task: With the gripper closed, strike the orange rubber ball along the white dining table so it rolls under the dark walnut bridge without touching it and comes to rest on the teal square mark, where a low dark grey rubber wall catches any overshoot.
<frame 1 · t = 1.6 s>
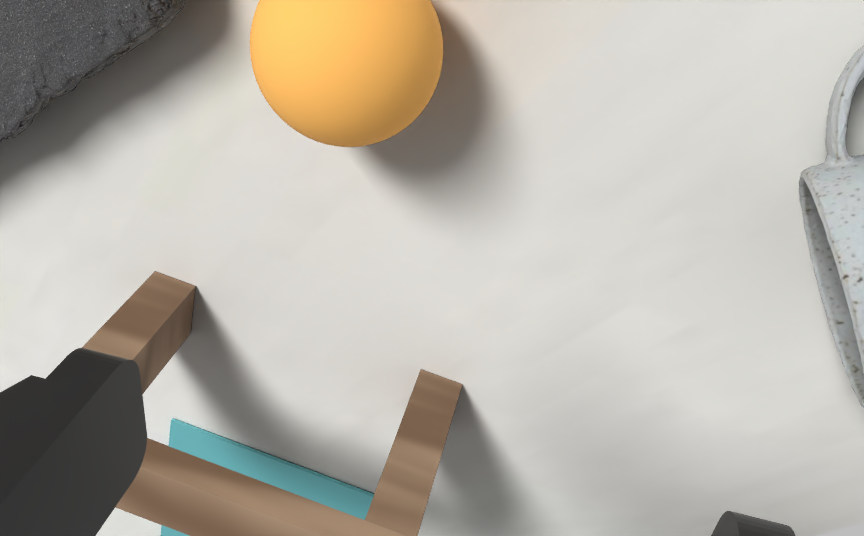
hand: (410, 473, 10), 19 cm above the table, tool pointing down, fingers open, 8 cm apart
ball: (347, 50, 24), on the table
bridge: (302, 350, 36), on the table
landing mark: (263, 523, 44), on the table
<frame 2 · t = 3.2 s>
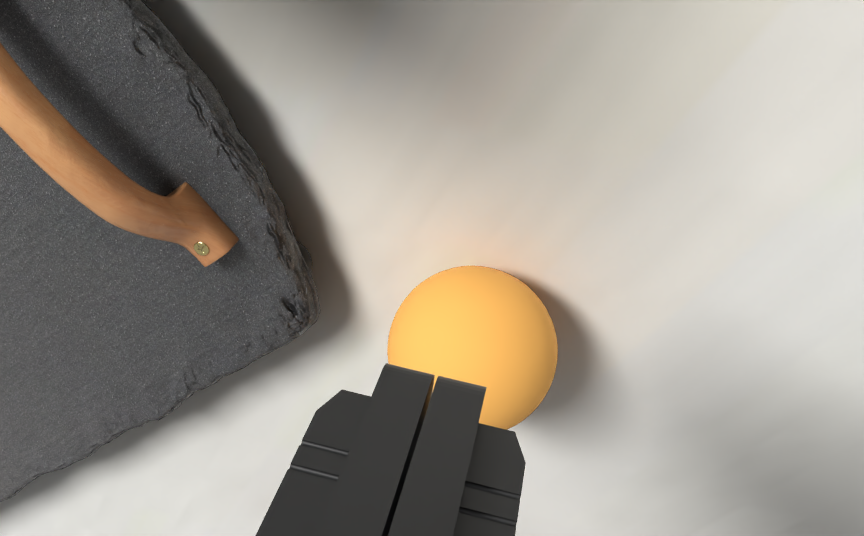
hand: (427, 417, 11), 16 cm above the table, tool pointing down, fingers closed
ball: (472, 350, 27), on the table
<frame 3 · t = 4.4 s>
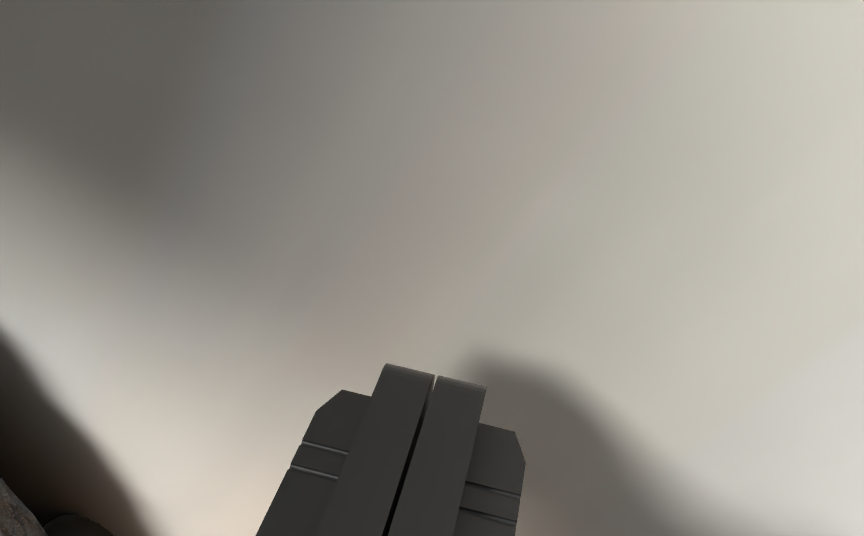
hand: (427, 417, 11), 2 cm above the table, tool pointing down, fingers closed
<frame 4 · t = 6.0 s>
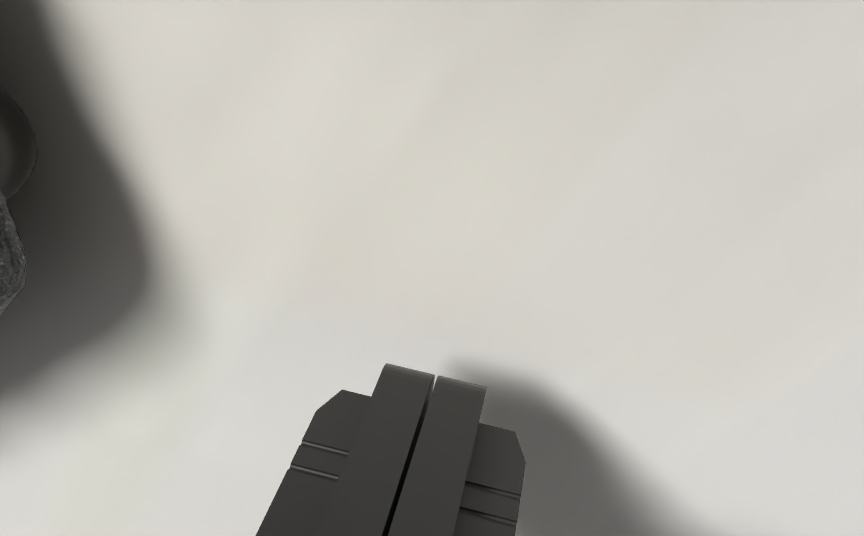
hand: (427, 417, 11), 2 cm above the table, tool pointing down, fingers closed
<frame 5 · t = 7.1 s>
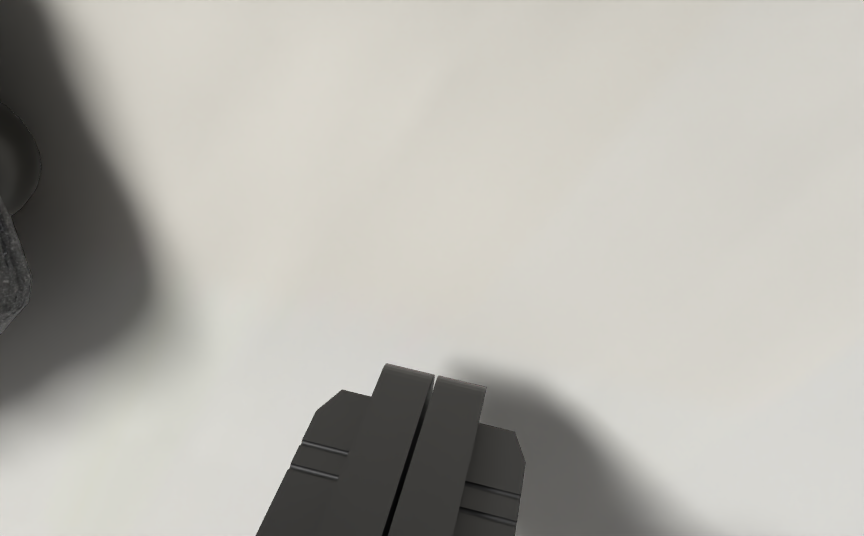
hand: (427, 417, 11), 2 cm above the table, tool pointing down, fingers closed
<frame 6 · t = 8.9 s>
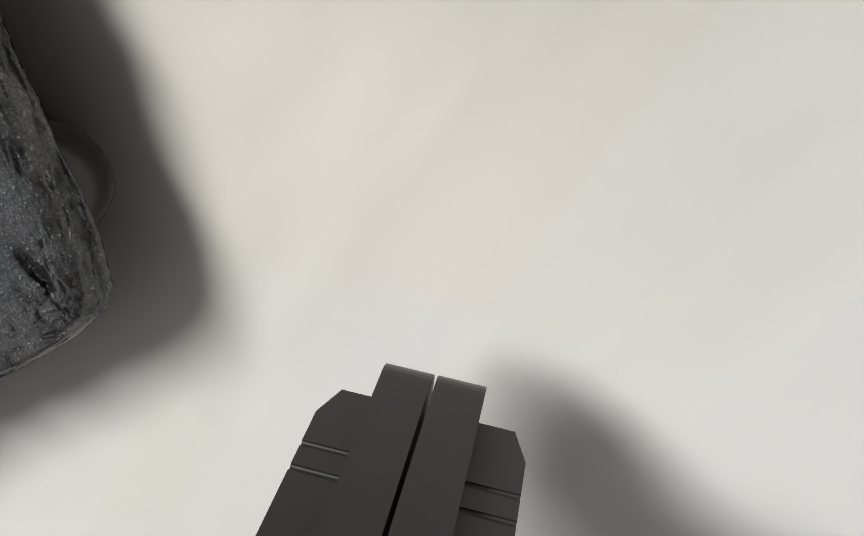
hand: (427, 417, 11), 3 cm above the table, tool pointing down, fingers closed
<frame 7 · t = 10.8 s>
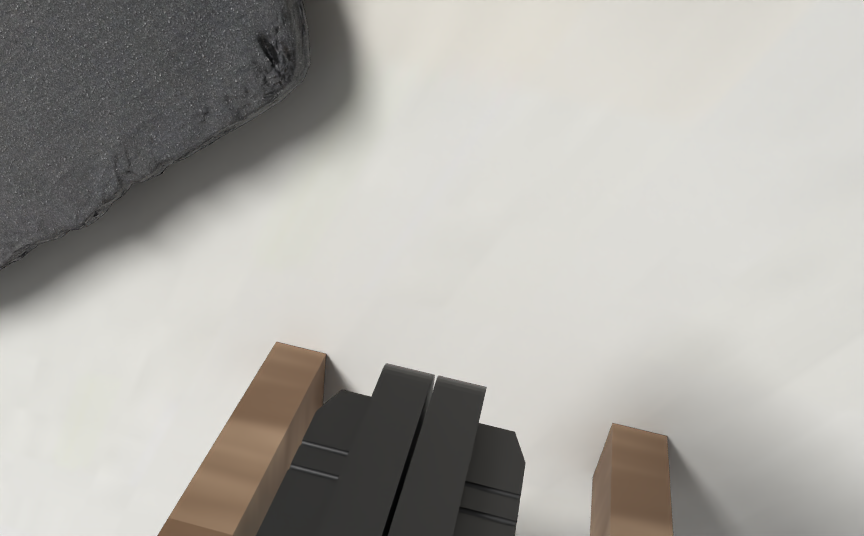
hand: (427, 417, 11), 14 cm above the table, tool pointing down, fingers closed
bridge: (460, 416, 30), on the table
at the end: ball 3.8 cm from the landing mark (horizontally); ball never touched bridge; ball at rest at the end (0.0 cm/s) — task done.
